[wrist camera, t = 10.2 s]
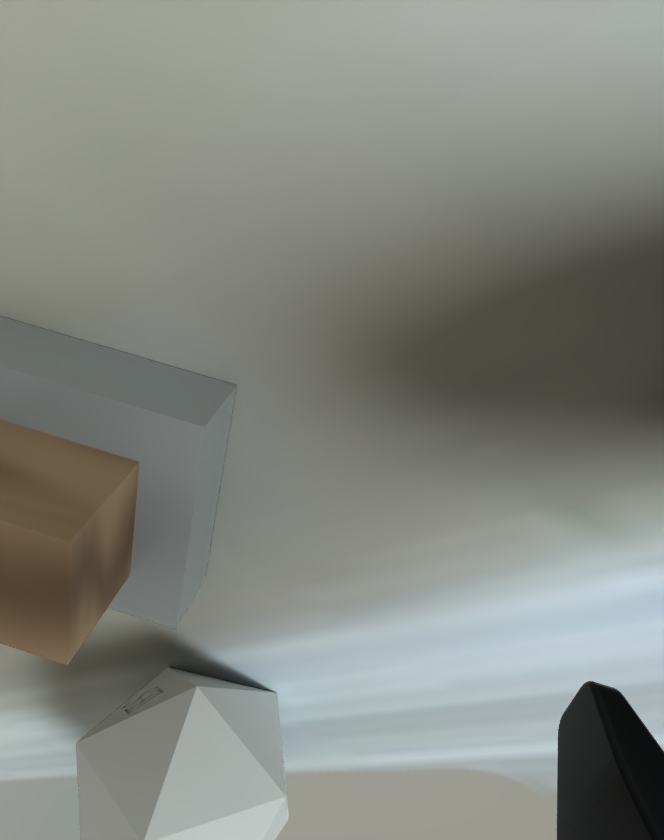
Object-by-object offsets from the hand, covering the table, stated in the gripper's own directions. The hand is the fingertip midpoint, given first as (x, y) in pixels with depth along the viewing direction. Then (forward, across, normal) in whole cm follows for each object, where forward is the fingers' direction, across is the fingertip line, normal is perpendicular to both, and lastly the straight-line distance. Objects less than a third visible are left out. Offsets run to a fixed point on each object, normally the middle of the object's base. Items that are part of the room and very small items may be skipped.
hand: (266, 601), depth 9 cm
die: (+12, +2, +20) cm, 24 cm away
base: (+12, +8, +8) cm, 17 cm away
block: (+9, +8, +8) cm, 15 cm away
